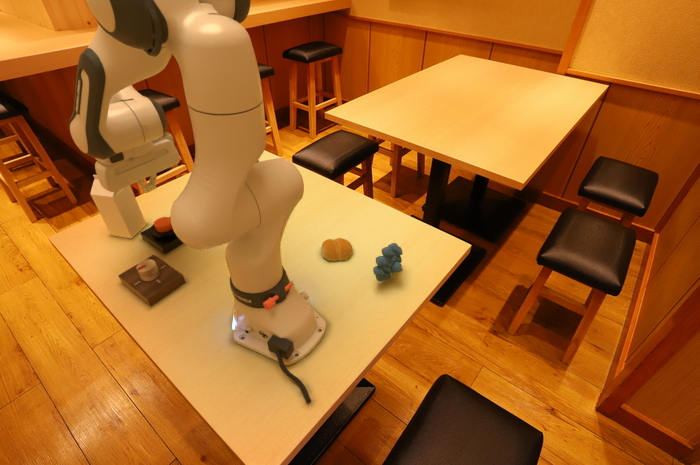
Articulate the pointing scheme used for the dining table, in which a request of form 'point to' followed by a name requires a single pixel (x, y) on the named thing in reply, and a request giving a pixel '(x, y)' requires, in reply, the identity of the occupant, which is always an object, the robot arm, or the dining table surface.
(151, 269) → the dial knob
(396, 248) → the grapes
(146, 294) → the dial panel
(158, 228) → the round orange button
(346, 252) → the bread roll
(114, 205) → the milk carton
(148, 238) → the button base
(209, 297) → the dining table surface
